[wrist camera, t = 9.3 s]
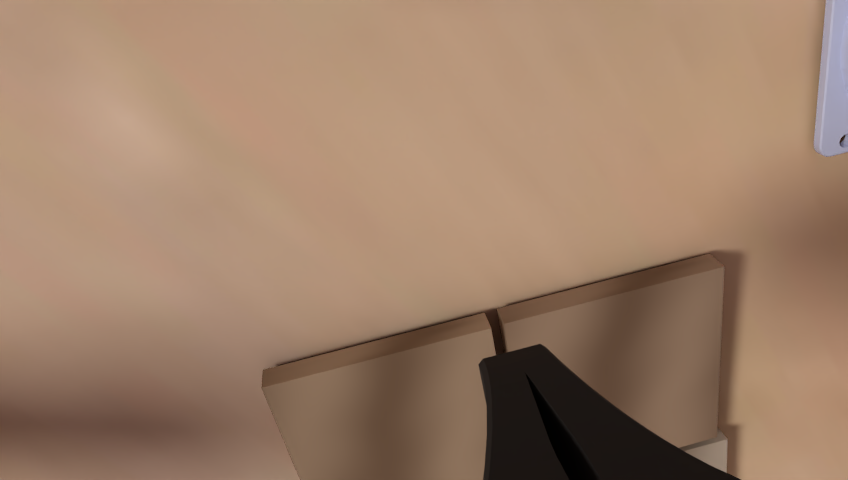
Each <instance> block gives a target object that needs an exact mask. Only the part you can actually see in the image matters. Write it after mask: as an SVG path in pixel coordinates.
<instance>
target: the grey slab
mask: <svg viewBox="0 0 848 480" xmlns="http://www.w3.org/2000/svg"><path fill="white" fill-rule="evenodd" d="M727 443H728V439H727V438H726V437H725V435H724V434H723V433H722V432H721V430H720V429H719V428H718V427H717V437H716V438H712V439H709V440H705V441H701V442H698V443H694V444H690V445H687V446H683V447H679V448H680V449H681V450H683V451H685V452H686V453H688V454H690V455H692V456H694V457H696V458H698V459H699V460H701V461H703V462H705V463H707V464H709V465H711V466H713V467H715V468H717V469H719V470H721V471H724V472H726V473H727Z"/></svg>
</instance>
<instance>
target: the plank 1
mask: <svg viewBox="0 0 848 480" xmlns="http://www.w3.org/2000/svg"><path fill="white" fill-rule="evenodd" d="M495 355H496V353H495V347H494V341H493V336H492V330H491V327H490V324H489V322H488V320H487V317H486V315H485V313H481V314H477V315H473V316H470V317H466V318H462V319H458V320H454V321H450V322H446V323H442V324H439V325H435V326H431V327H427V328H423V329H419V330H415V331H412V332H408V333H404V334H400V335H396V336H392V337H388V338H384V339H381V340H377V341H373V342H369V343H365V344H361V345H357V346H354V347H350V348H346V349H342V350H338V351H334V352H330V353H326V354H323V355H319V356H315V357H311V358H307V359H303V360H299V361H296V362H292V363H288V364H284V365H280V366H276V367H272V368H268V369H265V370H263V375H262V390H263V393H264V395H265V397H266V400H267V402H268V404H269V407H270V409H271V412H272V414H273V416H274V419H275V421H276V424H277V426H278V428H279V431H280V433H281V435H282V438H283V440H284V443H285V445H286V447H287V450H288V452H289V454H290V457H291V459H292V462H293V464H294V466H295V469H296V471H297V474H298V476H299V478H300V480H483V475H484V467H485V453H486V440H487V405H486V400H485V395H484V390H483V385H482V380H481V375H480V370H479V365H478V364H479V363H480V362H481V361H482V359H484V358H487V357H491V356H495Z"/></svg>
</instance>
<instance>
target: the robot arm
mask: <svg viewBox="0 0 848 480" xmlns="http://www.w3.org/2000/svg"><path fill="white" fill-rule="evenodd" d="M844 135H845V138H844V140H843V141H842V142H841V143H839V142H840V139H841V138H842V137H843V136H844ZM814 149H815V151H816V152H817V153H819V154H822V155H824V156H826V157H828V156H834V155H838V154H842V153H846V152H848V0H826V7H825V19H824V30H823V42H822V54H821V65H820V77H819V89H818V100H817V112H816V124H815V135H814ZM478 365H479V370H480V375H481V380H482V385H483V390H484V395H485V400H486V405H487V440H486V453H485V467H484V475H483V480H741V479H738V478H736V477H734V476H732V475H730V474H728V473H726V472H724V471H721V470H719V469H717V468H715V467H713V466H711V465H709V464H707V463H705V462H703V461H701V460H699V459H698V458H696V457H694V456H692V455H690V454H688V453H686V452H685V451H683V450H681V449H680V448H678V447H676V446H674V445H673V444H671V443H669V442H668V441H666V440H664V439H663V438H661V437H660V436H658V435H656V434H655V433H653V432H652V431H650V430H649V429H647V428H646V427H644V426H643V425H641V424H640V423H638V422H637V421H635V420H634V419H632V418H631V417H630V416H628V415H627V414H625V413H624V412H623V411H621V410H620V409H618V408H617V407H616V406H614V405H613V404H612V403H610V402H609V401H608V400H607V399H605V398H604V397H603V396H601V395H600V394H599V393H598V392H596V391H595V390H594V389H592V388H591V387H590V386H589V385H588V384H586V383H585V382H584V381H583V380H582V379H580V378H579V377H578V376H577V375H576V374H575V373H573V372H572V371H571V370H570V369H569V368H568V367H567V366H566V365H564V364H563V363H562V362H561V361H560V360H559V359H558V358H557V357H556V356H555V355H554V354H553V353H552V352H550V351H549V350H548V349H547V348H546V347H545V346H543V345H542V344H537V345H533V346H529V347H526V348H522V349H518V350H514V351H510V352H507V353H503V354H499V355H495V356H491V357H487V358H484V359H482V361H481V362H480V363H479V364H478Z"/></svg>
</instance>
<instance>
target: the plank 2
mask: <svg viewBox="0 0 848 480" xmlns="http://www.w3.org/2000/svg"><path fill="white" fill-rule="evenodd" d="M723 290H724V266H723V265H722V264H721V263H720V262H719V261H718V260H717V259H715V258H714V257H713V256H712V255H711V254H706V255H702V256H699V257H695V258H691V259H687V260H683V261H679V262H675V263H672V264H668V265H664V266H660V267H656V268H652V269H648V270H644V271H641V272H637V273H633V274H629V275H625V276H621V277H617V278H614V279H610V280H606V281H602V282H598V283H594V284H590V285H586V286H583V287H579V288H575V289H571V290H567V291H563V292H559V293H556V294H552V295H548V296H544V297H540V298H536V299H532V300H528V301H525V302H521V303H517V304H513V305H509V306H505V307H501V308H498V309H497V312H498V318H499V324H500V330H501V336H502V342H503V348H504V353H507V352H510V351H514V350H518V349H522V348H526V347H529V346H533V345H537V344H542V345H543V346H545V347H546V348H547V349H548V350H549V351H550V352H552V353H553V354H554V355H555V356H556V357H557V358H558V359H559V360H560V361H561V362H562V363H563V364H564V365H566V366H567V367H568V368H569V369H570V370H571V371H572V372H573V373H575V374H576V375H577V376H578V377H579V378H580V379H582V380H583V381H584V382H585V383H586V384H588V385H589V386H590V387H591V388H592V389H594V390H595V391H596V392H598V393H599V394H600V395H601V396H603V397H604V398H605V399H607V400H608V401H609V402H610V403H612V404H613V405H614V406H616V407H617V408H618V409H620V410H621V411H623V412H624V413H625V414H627V415H628V416H630V417H631V418H632V419H634V420H635V421H637V422H638V423H640V424H641V425H643V426H644V427H646V428H647V429H649V430H650V431H652V432H653V433H655V434H656V435H658V436H660V437H661V438H663V439H664V440H666V441H668V442H669V443H671V444H673V445H674V446H676V447H678V448H679V447H683V446H687V445H690V444H694V443H698V442H701V441H705V440H709V439H712V438H716V437H717V425H718V402H719V380H720V357H721V335H722V312H723Z"/></svg>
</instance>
